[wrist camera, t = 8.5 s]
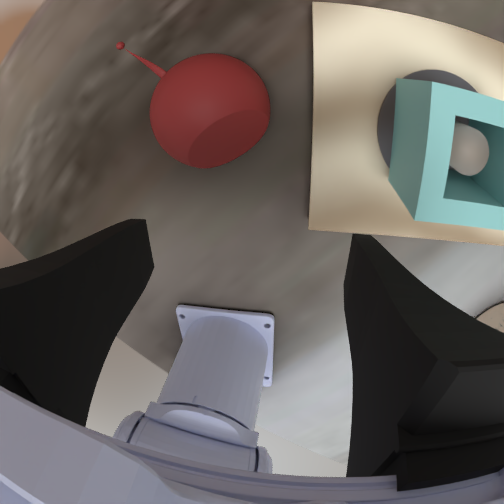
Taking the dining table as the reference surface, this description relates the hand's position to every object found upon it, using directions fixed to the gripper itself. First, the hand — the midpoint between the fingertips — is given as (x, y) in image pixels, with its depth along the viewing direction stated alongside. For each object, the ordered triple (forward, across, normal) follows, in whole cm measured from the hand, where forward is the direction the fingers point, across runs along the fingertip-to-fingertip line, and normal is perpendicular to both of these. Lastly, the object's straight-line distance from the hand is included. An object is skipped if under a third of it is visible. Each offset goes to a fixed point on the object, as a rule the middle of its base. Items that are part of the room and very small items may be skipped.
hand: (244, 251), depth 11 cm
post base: (+9, -9, -4) cm, 14 cm away
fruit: (+10, +4, -5) cm, 11 cm away
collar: (+7, -9, -4) cm, 12 cm away
